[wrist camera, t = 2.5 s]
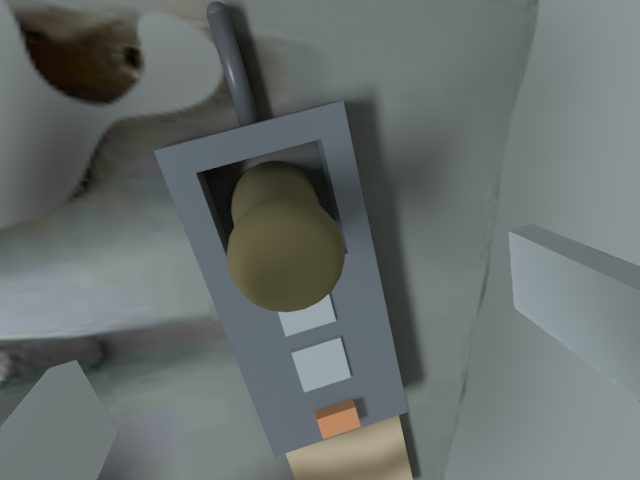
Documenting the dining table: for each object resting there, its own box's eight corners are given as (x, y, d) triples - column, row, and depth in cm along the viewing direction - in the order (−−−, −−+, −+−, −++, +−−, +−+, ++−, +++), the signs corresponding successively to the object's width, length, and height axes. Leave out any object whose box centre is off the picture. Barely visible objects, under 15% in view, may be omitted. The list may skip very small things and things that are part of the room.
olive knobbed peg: (211, 216, 25) (181, 288, 15) (264, 141, 24) (273, 163, 14) (284, 263, 27) (303, 357, 17) (336, 196, 26) (392, 252, 16)
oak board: (282, 437, 32) (283, 447, 31) (393, 400, 33) (397, 409, 32) (311, 514, 35) (312, 525, 34) (410, 479, 36) (415, 489, 35)
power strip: (117, 28, 21) (94, 13, 18) (309, -18, 22) (318, -40, 18) (273, 431, 31) (275, 465, 28) (396, 390, 32) (412, 419, 29)
